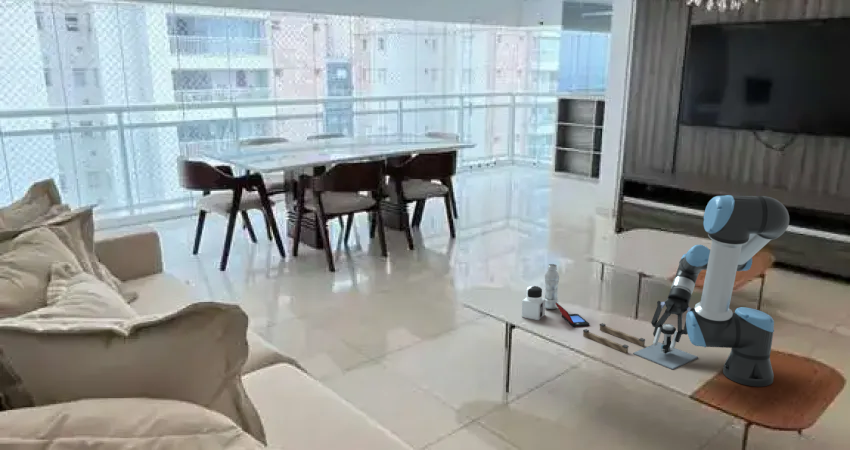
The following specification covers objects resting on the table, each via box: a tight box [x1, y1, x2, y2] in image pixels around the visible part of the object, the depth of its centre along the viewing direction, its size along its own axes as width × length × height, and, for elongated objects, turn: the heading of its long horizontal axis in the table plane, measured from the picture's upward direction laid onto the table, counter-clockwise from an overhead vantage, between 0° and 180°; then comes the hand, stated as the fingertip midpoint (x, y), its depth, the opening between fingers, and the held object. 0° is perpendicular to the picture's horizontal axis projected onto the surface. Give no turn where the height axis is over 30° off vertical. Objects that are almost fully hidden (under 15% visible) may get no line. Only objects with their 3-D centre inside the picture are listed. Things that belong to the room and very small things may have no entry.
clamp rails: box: [582, 322, 646, 354], centre depth 237 cm, size 20×12×3 cm, turn 36°
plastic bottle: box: [544, 263, 560, 310], centre depth 269 cm, size 6×7×20 cm
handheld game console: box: [556, 302, 590, 328], centre depth 256 cm, size 12×11×7 cm
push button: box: [660, 323, 677, 353], centre depth 222 cm, size 7×5×10 cm
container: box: [521, 285, 546, 321], centre depth 261 cm, size 8×8×13 cm
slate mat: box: [632, 341, 699, 370], centre depth 223 cm, size 16×16×1 cm
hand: (662, 346), depth 219 cm, fingers closed on push button, 5 cm apart
